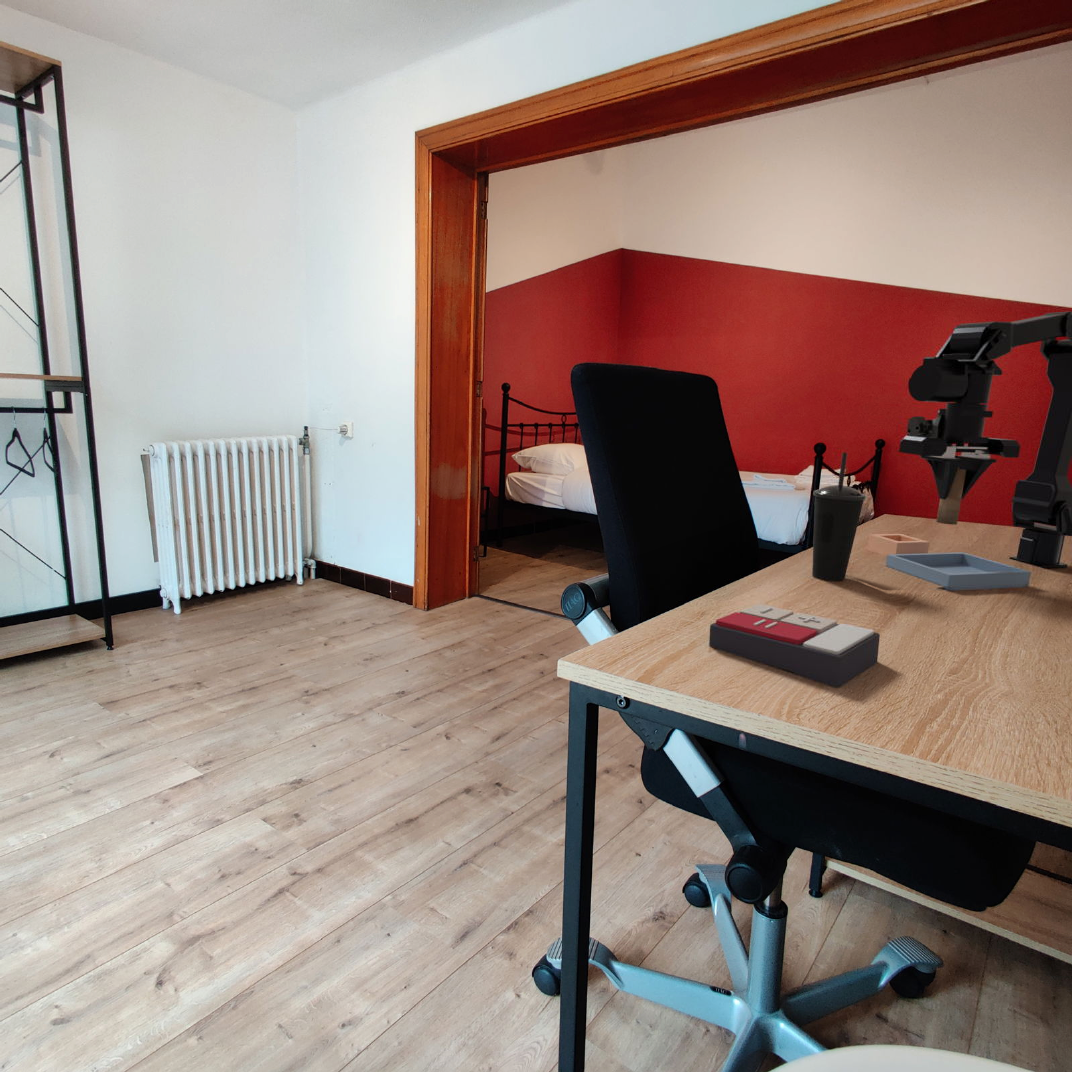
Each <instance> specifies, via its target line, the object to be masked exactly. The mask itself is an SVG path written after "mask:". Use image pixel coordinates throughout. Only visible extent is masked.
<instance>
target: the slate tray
mask: <svg viewBox="0 0 1072 1072" xmlns="http://www.w3.org/2000/svg"><path fill="white" fill-rule="evenodd" d="M885 567H886V568H889V569H893V570H895V571H898V572H901V573H904V574H906V575H909V576H913V577H914V578H915V577H916V578H919V579H921V580H923V581H927V582H930V583H932V584H935V585H937V586H938V585H939V586H940V587H939V586H938V587H937V588H938V589H941V590H943V591H946V592H948V591H949V592H951V591H968V590H970V591H971V590H991V589H1010V588H1011V589H1012V588H1015V589H1016V588H1028V587H1029V585H1030V580H1031V579H1030V578H1031V574H1032V571H1030V570H1026V569H1023V568H1019V567H1016V566H1012V565H1009V564H1005V563H1003V562H998V561H994V560H991V559H988V558H984V557H980V556H977V555H974V554H971V553H966V552H962V551H961V552H960V551H959V552H957V551H956V552H955V551H954V552H933V553H932V552H930V553H929V552H928V553H922V554H890V555H887V557H886V560H885Z"/></svg>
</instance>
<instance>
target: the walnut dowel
mask: <svg viewBox="0 0 1072 1072" xmlns="http://www.w3.org/2000/svg"><path fill="white" fill-rule="evenodd" d="M965 474H966V470H965V469H959V468H958V470H957V473H956V476H955V478H954V481H953V484H952V487H951V489H950V492H949V494H948V496H947V498H946V499H940V498H939V503H938V504H939V505H938V508H937V516H936V520H935V521H936V523H939V524H943V525H958V520H959V514H960V509H961V504H962V503H961V502H962V499H961V498H962V492H963V486H964V480H965Z"/></svg>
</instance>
